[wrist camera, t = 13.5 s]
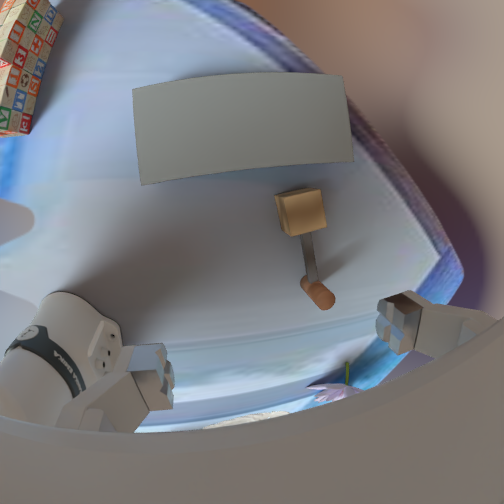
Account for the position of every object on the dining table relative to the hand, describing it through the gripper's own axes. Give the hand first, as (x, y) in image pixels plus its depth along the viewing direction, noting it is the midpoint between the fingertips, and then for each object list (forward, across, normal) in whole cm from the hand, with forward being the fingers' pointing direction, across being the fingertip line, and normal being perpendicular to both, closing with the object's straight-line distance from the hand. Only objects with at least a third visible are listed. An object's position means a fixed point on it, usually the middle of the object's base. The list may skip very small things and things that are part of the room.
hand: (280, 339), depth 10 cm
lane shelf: (+29, +4, +12) cm, 32 cm away
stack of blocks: (+29, -28, +29) cm, 50 cm away
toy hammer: (+29, +11, -5) cm, 32 cm away
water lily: (+29, +16, -34) cm, 48 cm away
